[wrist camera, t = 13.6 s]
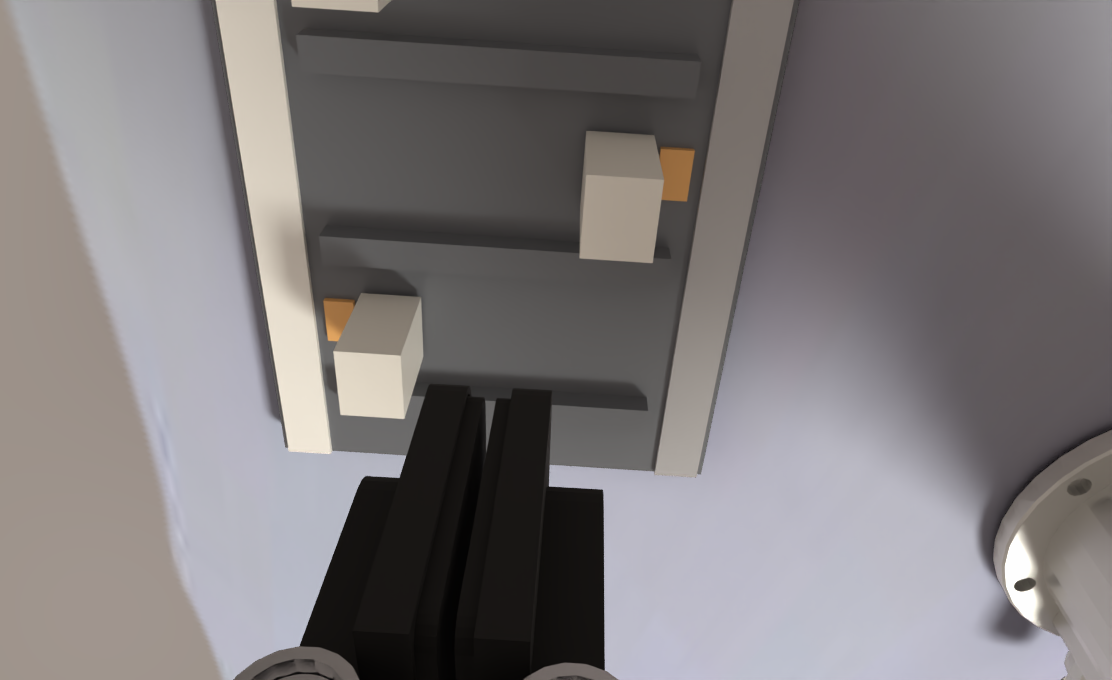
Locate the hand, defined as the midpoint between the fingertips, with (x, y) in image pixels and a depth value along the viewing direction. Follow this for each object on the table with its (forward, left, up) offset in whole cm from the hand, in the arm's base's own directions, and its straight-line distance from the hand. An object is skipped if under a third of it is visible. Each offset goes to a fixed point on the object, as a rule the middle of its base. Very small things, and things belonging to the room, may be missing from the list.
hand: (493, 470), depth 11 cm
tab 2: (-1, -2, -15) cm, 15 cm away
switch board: (-1, +1, -16) cm, 16 cm away
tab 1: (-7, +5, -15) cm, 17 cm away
